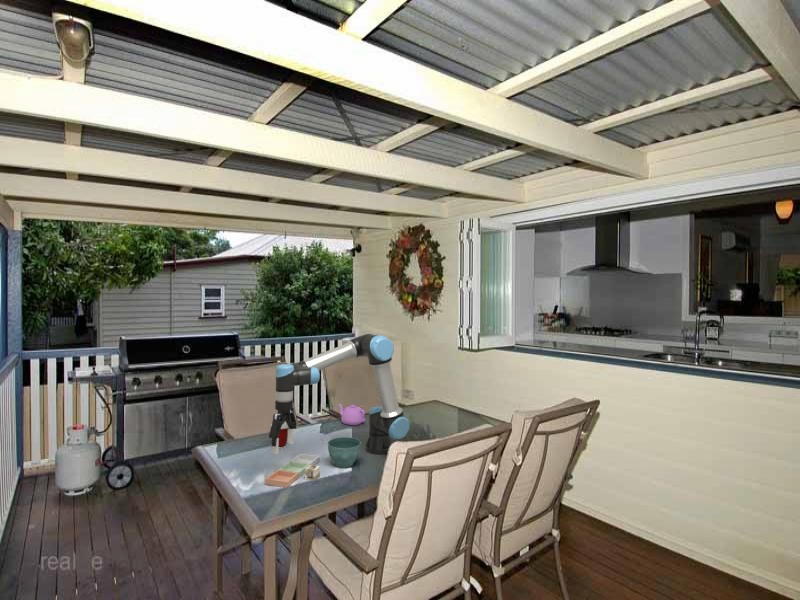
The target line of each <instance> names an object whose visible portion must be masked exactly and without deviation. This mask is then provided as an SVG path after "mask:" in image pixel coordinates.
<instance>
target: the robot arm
mask: <svg viewBox="0 0 800 600" xmlns="http://www.w3.org/2000/svg"><path fill="white" fill-rule="evenodd" d="M394 351H395V348H394V344H393V341H392V340H391V339H389V338H388V337H386V336H384V335H377V334H372V333H366V334H361V335H359V336H357V337H354V338H351V339H349V340H346V343H344V344H342V345H339V346H337V347H334V348H332V349H328V350H327V351H324V352H321V353H319V354H317V355H314V356H311V357H308V358H306V359H303V360H301V361H298V362H290V363H288V364H285V363H283V364H279V365H277V366H276V369H275V370H276V371H275V392H274V393H275V402H274V403H275V404H274V405H275V406H274V409H275V410H276V411H277V414H275V413H274V414H273V415H272V422H271V424H272V426H271V425H270V430H269V433H268V434H269V435H268V438H269V439H271V454H274V455H275V454H276V455H278V454H279V448H278V440H279V438H277V437H278V435H279V432H280V429H281V427H282V424H284V422H286V423H287V425H288V427H289V428H290V429H288V437H287V441H286V444H291V445H293V444H294V443H295V441H294V440H295V439H294V438H295V437H294V436H295V430H296V429H297V425H298V423H297V418H296V417H295V416H296V414H295V409H294V408H295V407H293V406H294V401H293V399H294V387H297V386H309V385H316V384H318V383H319V382H320V378H321V377H320V376H321V374H320V371H321V370H323V369H327V368H329V367H331V366H335V365H336V364H337V365H338V364H339V363H341V362H344V361H346V360H348V359H351V358H352V359H356V358H359V357H366V358H367V359H368V364H369V366H371V367H373V368H372V369H373V372H374V376H375V382H376V387H377V391H378V396H379V400H380V405H378V406H377V405H376V406H373V407H370V408H369V413H368V436H367V439H366V441H365V446H364V449H365V451H366V452H368V453H370V454H375V455H386V454H388V453H387V451H388V448H389V446H390V444H391V443H393V440H392V439H395V440H401V439H403V438H404V437H405V436H406V435H407V434H408V432H409V431H410V426H411V425H410V421H409V419H408V418H407V417H405V416H404V411H403V408H402V407H400V406H399V401H398V397H397V392H396V387H395V386H396V385H395V382H394V378H393V373H392V367H391V363H392V361H393V354H394Z"/></svg>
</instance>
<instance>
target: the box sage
mask: <svg viewBox="0 0 800 600" xmlns="http://www.w3.org/2000/svg"><path fill="white" fill-rule="evenodd" d="M290 461H291V460H290ZM290 461H288V462H287V463H285V464H284V465H282V466H281V467H280V468H278V469H277V470H282V471H289V472H296V473H299V479H300V478H302V477H303V476H304V475H305V468H307V467H308V466H309V465H310V464H305V463H298V462H290Z"/></svg>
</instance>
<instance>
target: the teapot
mask: <svg viewBox="0 0 800 600" xmlns="http://www.w3.org/2000/svg"><path fill="white" fill-rule="evenodd" d="M337 405H338V406H339V413H340V417H341V419H340V420H341V422H342V423H343V424H344V425H348V426H357V425H361V424H362V423H364V422H365V421H366V418H365V415H366V412H365V410H364V409H362V408H361V407H360V406H356V405H355V404H351V405H350V406H347V407H344V408H343V405H342V404H341V403H338V404H337Z"/></svg>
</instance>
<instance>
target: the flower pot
mask: <svg viewBox="0 0 800 600" xmlns="http://www.w3.org/2000/svg"><path fill="white" fill-rule="evenodd" d="M361 445H362V441H361V440H360V439H359V438H356V437H349V436H348V437H347V436H345V437H344V436H342V437H341V436H340V437H335V438H332V439H329V440H328V441H327V450H328V454H329V457H330V459H331V460H332V462H333V465H334V466H335V467H337V468H350V467H352V466H353V465H354V463H355V461H356V460H357V458H358V456H359V453H360V451H361Z"/></svg>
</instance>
